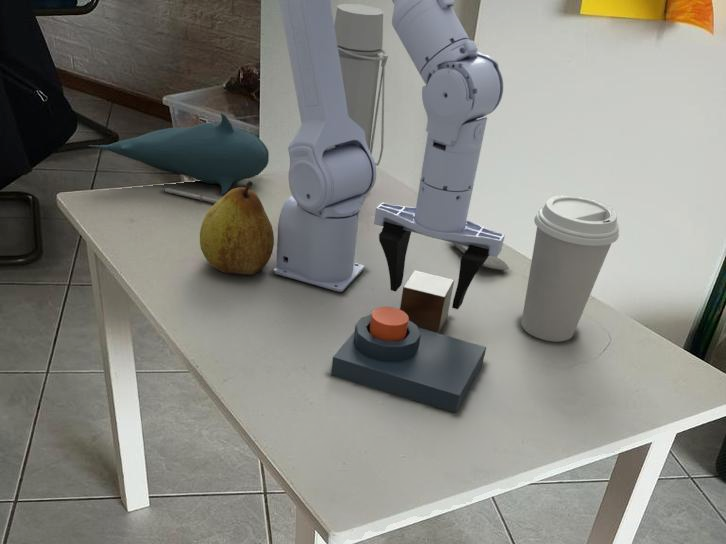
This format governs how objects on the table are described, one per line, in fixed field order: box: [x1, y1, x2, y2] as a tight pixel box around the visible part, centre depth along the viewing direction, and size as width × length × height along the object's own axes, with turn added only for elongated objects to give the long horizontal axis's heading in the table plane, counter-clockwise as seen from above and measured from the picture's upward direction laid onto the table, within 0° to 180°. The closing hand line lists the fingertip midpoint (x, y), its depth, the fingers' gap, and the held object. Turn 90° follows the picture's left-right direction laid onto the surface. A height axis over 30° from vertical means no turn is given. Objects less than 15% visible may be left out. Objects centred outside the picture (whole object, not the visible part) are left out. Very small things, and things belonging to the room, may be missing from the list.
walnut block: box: [399, 269, 455, 334], centre depth 97 cm, size 5×5×5 cm
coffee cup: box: [521, 194, 620, 343], centre depth 96 cm, size 10×10×15 cm
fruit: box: [199, 180, 275, 276], centre depth 100 cm, size 9×9×12 cm
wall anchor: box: [164, 187, 222, 204], centre depth 119 cm, size 1×9×1 cm, turn 71°
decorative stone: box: [452, 243, 510, 271], centre depth 113 cm, size 11×1×5 cm
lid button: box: [369, 306, 409, 341], centre depth 88 cm, size 4×4×2 cm
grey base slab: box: [330, 313, 487, 414], centre depth 89 cm, size 14×11×4 cm
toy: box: [87, 113, 270, 195], centre depth 123 cm, size 11×26×15 cm
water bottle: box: [324, 3, 389, 167], centre depth 120 cm, size 9×8×25 cm
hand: (426, 296), depth 97 cm, fingers open, 7 cm apart
